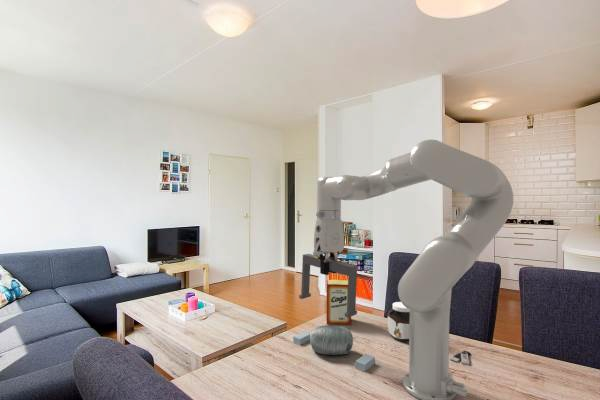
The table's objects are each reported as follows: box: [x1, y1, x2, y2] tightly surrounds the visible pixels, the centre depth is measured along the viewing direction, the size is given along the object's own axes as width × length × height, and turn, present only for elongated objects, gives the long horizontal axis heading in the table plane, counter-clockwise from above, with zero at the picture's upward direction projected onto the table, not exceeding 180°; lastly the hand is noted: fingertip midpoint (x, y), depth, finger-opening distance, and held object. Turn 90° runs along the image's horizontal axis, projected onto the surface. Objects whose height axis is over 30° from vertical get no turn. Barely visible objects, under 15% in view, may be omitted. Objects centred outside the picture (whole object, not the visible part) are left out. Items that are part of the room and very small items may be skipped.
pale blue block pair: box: [292, 331, 376, 372], centre depth 100 cm, size 27×6×2 cm, turn 49°
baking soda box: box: [325, 279, 352, 326], centre depth 126 cm, size 10×6×16 cm
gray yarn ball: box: [309, 324, 354, 356], centre depth 100 cm, size 14×10×10 cm
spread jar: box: [387, 301, 410, 343], centre depth 111 cm, size 12×11×12 cm
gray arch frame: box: [298, 253, 358, 318], centre depth 101 cm, size 21×4×15 cm, turn 43°
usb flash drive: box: [449, 350, 472, 367], centre depth 97 cm, size 9×5×1 cm, turn 126°
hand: (328, 272), depth 100 cm, fingers closed on gray arch frame, 2 cm apart
